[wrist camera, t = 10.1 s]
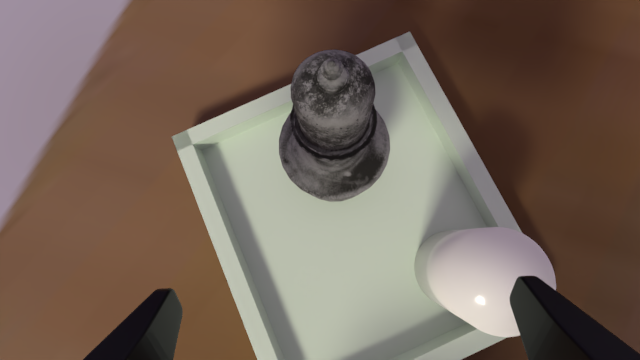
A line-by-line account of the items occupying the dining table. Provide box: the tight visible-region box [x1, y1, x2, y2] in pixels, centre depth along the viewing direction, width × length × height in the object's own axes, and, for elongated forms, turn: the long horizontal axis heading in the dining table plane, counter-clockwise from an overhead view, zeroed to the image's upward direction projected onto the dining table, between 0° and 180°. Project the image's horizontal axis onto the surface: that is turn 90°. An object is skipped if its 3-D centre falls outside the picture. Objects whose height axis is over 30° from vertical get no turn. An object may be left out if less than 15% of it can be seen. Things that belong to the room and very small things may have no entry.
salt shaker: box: [279, 50, 390, 202], centre depth 16 cm, size 6×6×12 cm
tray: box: [172, 32, 522, 360], centre depth 20 cm, size 18×16×2 cm
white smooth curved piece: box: [414, 227, 556, 337], centre depth 17 cm, size 4×4×6 cm
